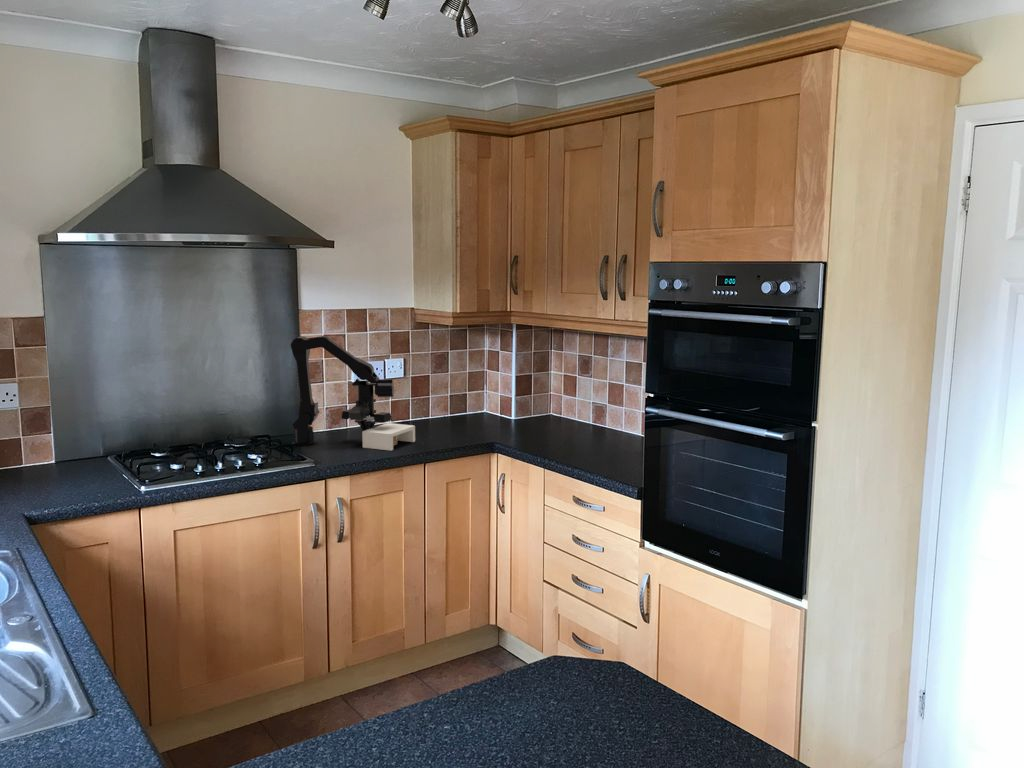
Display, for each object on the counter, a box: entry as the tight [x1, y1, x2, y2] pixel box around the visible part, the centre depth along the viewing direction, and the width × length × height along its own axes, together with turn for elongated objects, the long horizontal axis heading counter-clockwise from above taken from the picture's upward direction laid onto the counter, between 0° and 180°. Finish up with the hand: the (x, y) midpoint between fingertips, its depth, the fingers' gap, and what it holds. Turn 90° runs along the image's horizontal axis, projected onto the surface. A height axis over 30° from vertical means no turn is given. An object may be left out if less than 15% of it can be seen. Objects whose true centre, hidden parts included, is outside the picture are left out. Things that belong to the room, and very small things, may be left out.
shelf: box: [361, 422, 416, 452], centre depth 307 cm, size 12×17×6 cm
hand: (366, 438), depth 310 cm, fingers closed
